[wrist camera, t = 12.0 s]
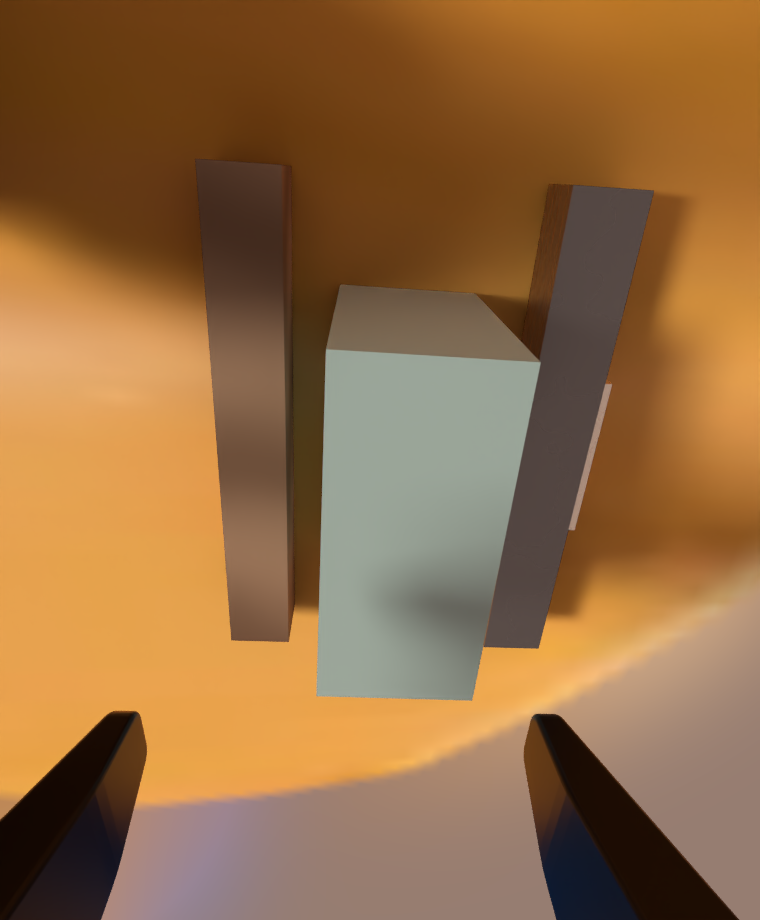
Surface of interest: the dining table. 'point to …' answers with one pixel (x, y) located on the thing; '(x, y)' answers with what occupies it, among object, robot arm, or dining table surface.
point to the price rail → (564, 389)
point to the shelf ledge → (252, 384)
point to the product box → (415, 488)
